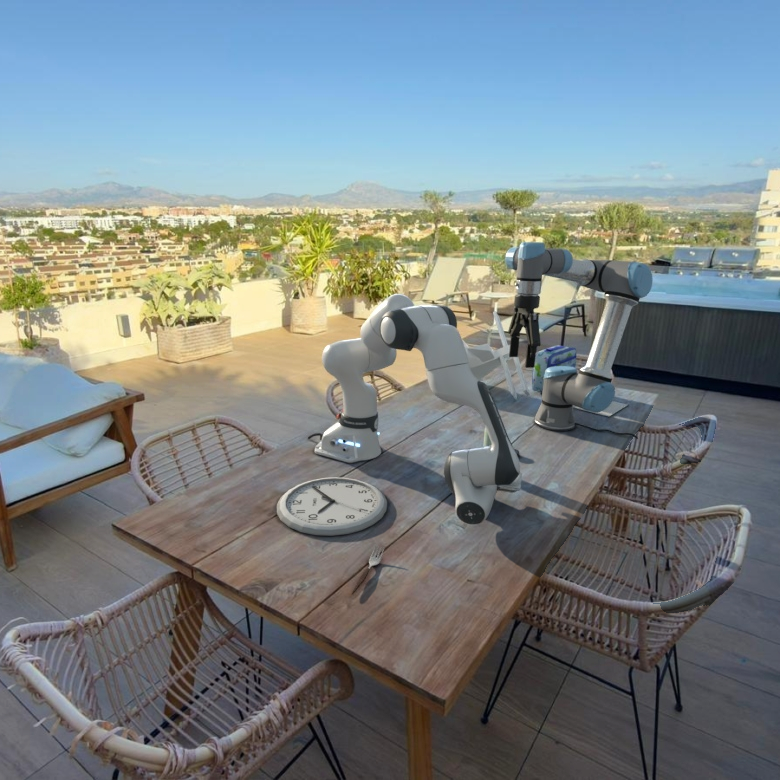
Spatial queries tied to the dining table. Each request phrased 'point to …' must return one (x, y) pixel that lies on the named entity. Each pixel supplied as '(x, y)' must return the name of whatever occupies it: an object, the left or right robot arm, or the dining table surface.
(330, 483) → the wall clock
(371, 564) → the fork
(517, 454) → the cap
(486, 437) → the bottle
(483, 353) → the white plastic object
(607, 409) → the invitation card
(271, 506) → the dining table surface
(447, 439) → the dining table surface
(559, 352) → the lunch box
